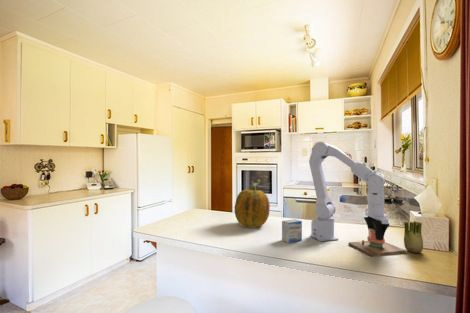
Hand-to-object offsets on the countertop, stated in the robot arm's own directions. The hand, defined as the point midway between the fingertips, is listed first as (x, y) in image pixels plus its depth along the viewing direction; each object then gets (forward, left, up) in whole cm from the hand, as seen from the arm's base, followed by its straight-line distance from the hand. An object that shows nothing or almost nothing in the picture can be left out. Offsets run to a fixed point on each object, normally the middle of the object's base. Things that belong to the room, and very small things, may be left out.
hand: (375, 237), depth 92 cm
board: (0, 0, -5) cm, 5 cm away
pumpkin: (-40, +40, -5) cm, 57 cm away
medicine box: (-29, +16, -5) cm, 33 cm away
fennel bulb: (+12, -5, -5) cm, 14 cm away
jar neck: (0, 0, -5) cm, 5 cm away
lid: (0, 0, -2) cm, 2 cm away
